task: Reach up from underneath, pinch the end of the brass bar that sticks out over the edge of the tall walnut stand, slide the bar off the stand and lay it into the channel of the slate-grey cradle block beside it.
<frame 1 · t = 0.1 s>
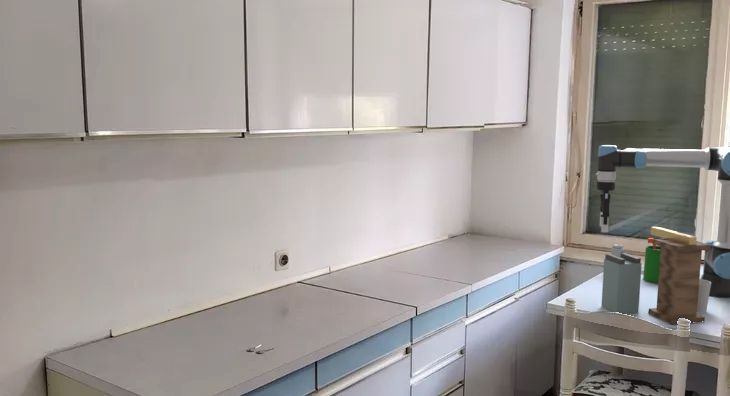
hand: (603, 229, 283), 28 cm above the table, tool pointing down, fingers open, 13 cm apart
cradle block: (619, 309, 261), on the table
cup: (697, 310, 260), on the table
brass bar: (672, 239, 251), point 30 cm above the table, touching walnut stand
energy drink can: (616, 275, 314), on the table
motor: (653, 280, 306), on the table
walnut stand: (675, 317, 251), on the table
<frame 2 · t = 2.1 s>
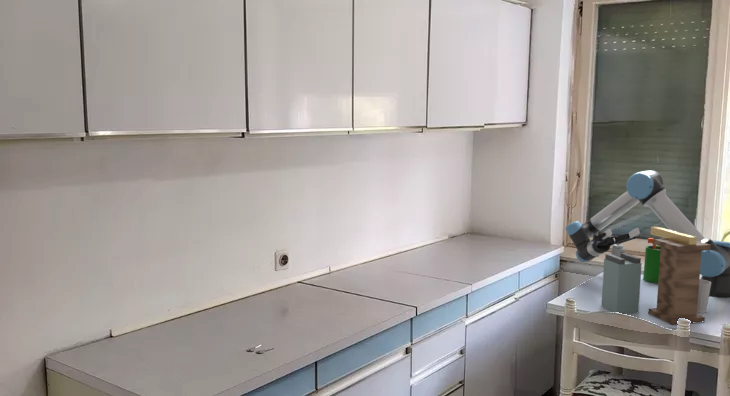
hand: (624, 230, 281), 28 cm above the table, tool pointing upward, fingers open, 13 cm apart
nothing on the table moved.
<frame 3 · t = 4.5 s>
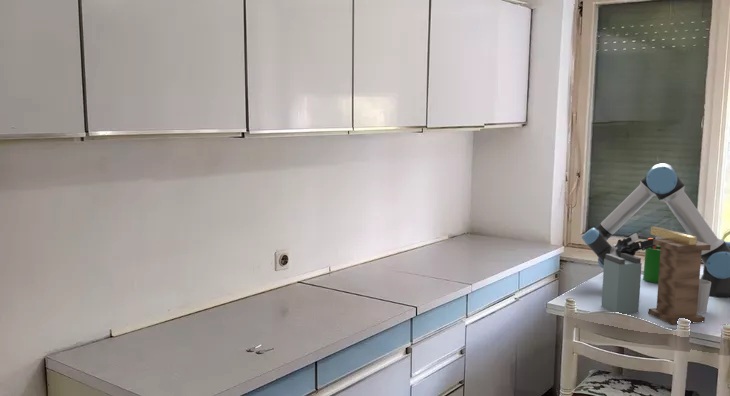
hand: (651, 235, 262), 29 cm above the table, tool pointing upward, fingers open, 13 cm apart
nothing on the table moved.
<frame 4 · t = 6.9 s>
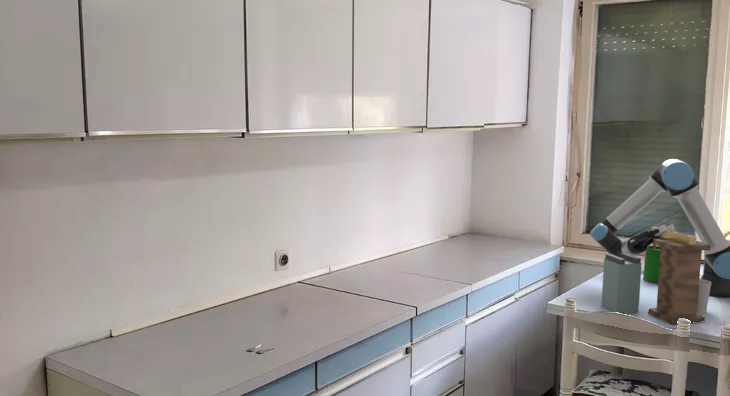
hand: (669, 227, 253), 34 cm above the table, tool pointing upward, fingers closed on brass bar, 3 cm apart
brass bar: (672, 239, 251), point 30 cm above the table, touching gripper, walnut stand
everything else where it was.
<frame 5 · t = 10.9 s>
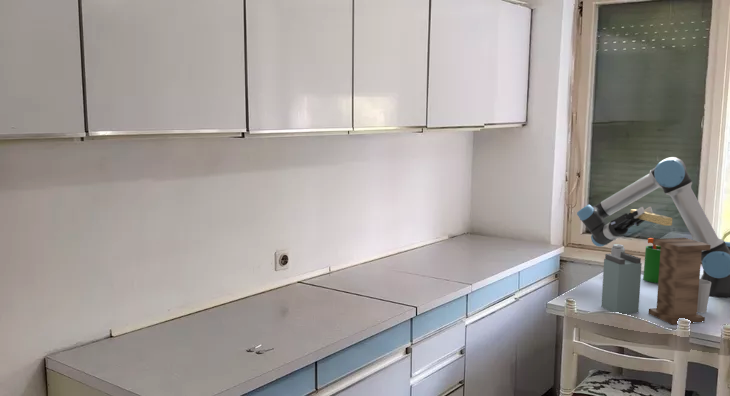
hand: (647, 209, 264), 39 cm above the table, tool pointing upward, fingers closed on brass bar, 3 cm apart
brass bar: (650, 220, 262), point 35 cm above the table, touching gripper
everything else where it was.
when the fingers open (26 cm above the table, at t = 14.8 s): brass bar drops 2 cm, resting on cradle block.
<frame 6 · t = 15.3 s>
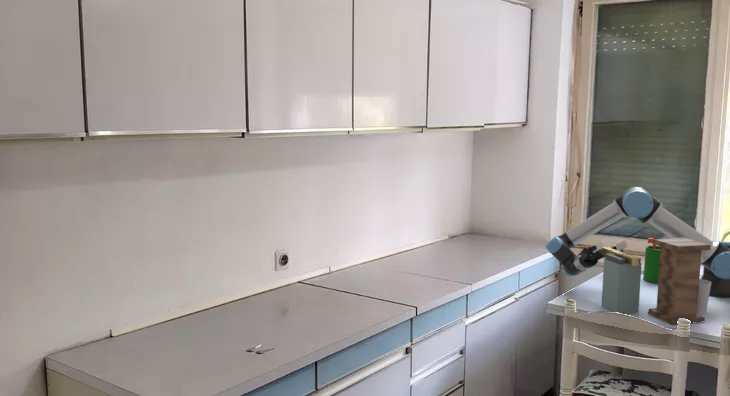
hand: (613, 244, 264), 26 cm above the table, tool pointing upward, fingers open, 10 cm apart
brass bar: (618, 259, 261), point 20 cm above the table, touching cradle block
everything else where it was.
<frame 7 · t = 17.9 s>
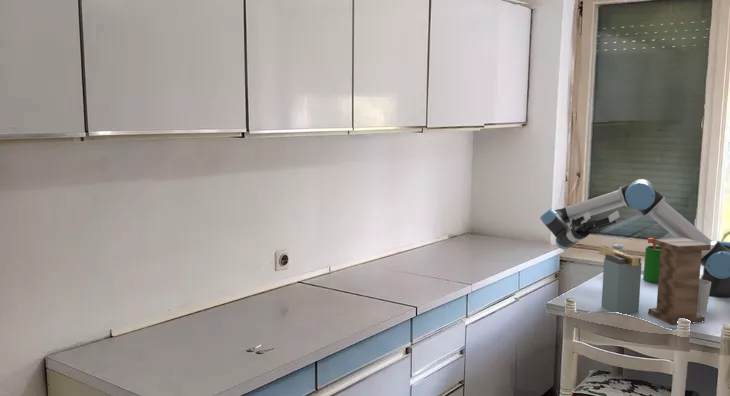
hand: (603, 214, 269), 37 cm above the table, tool pointing upward, fingers open, 13 cm apart
nothing on the table moved.
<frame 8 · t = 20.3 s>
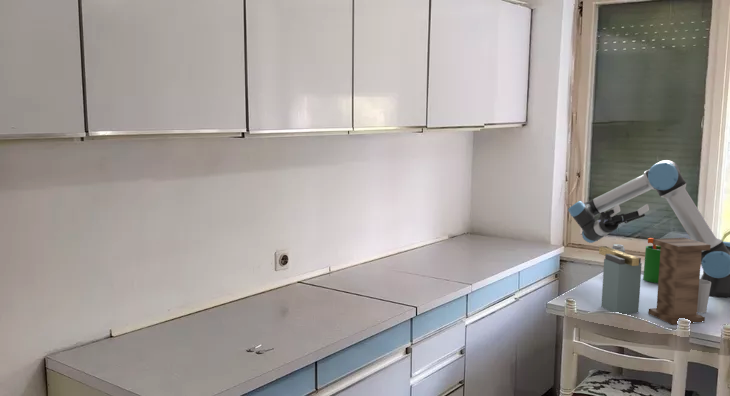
hand: (633, 207, 268), 40 cm above the table, tool pointing upward, fingers open, 13 cm apart
nothing on the table moved.
at the end: brass bar inside the target area on the cradle block (0.2 cm from its centre), point 20.0 cm above the cradle block's base; brass bar touching cradle block; the gripper is holding nothing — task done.
